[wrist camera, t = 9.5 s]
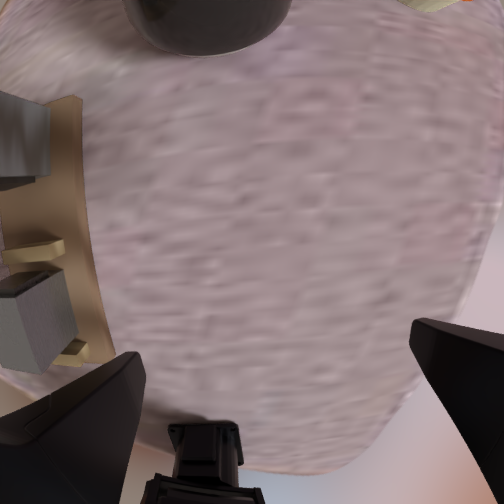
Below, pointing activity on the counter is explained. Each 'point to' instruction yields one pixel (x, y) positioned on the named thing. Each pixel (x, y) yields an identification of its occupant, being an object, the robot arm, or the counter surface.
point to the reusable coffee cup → (428, 4)
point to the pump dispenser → (205, 24)
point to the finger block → (34, 320)
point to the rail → (51, 212)
